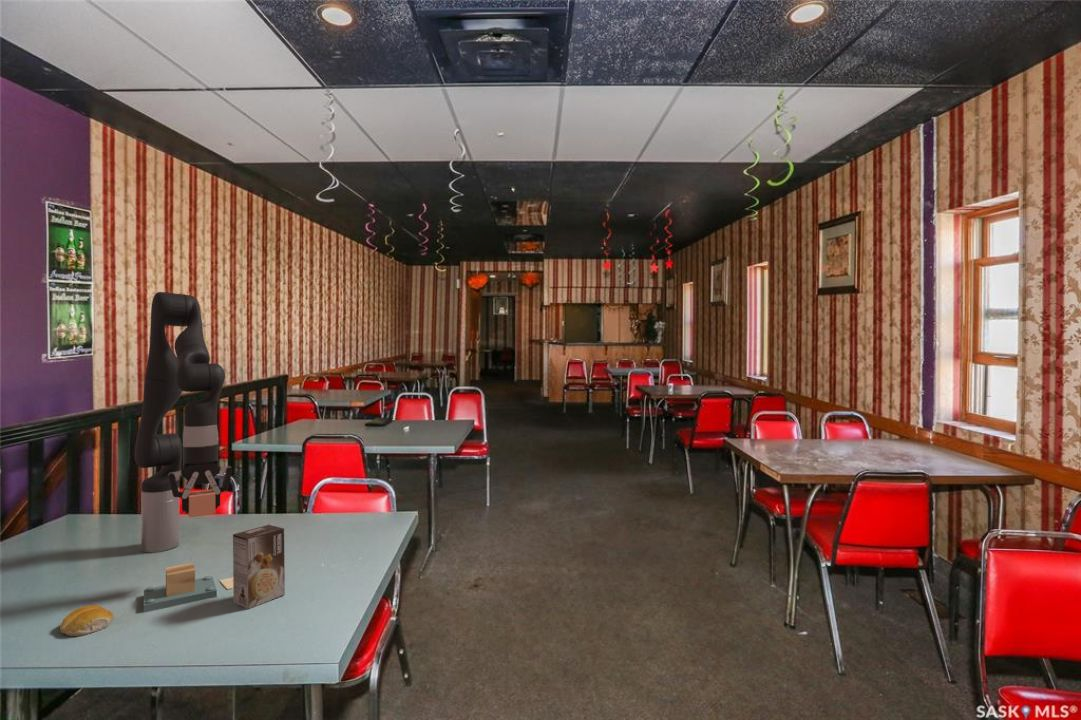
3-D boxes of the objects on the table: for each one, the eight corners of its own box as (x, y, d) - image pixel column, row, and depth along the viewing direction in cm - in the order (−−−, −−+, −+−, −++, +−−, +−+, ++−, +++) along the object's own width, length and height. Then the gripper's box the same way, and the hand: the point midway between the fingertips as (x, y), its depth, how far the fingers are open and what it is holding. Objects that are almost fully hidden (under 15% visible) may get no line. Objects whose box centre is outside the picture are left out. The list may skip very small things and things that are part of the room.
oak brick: (165, 588, 131) (165, 567, 131) (193, 583, 135) (193, 562, 135) (166, 597, 127) (166, 575, 127) (194, 591, 130) (195, 569, 130)
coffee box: (269, 589, 135) (270, 523, 135) (285, 595, 132) (285, 528, 132) (232, 603, 128) (232, 533, 127) (247, 610, 124) (248, 538, 124)
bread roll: (100, 614, 122) (100, 596, 122) (118, 625, 117) (118, 606, 117) (52, 629, 115) (52, 610, 115) (69, 642, 110) (69, 622, 110)
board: (143, 595, 131) (143, 587, 131) (212, 582, 139) (212, 574, 139) (143, 612, 123) (143, 603, 123) (216, 596, 131) (216, 588, 131)
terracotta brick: (187, 512, 139) (187, 492, 139) (212, 508, 142) (212, 489, 142) (189, 517, 135) (189, 497, 135) (215, 513, 138) (215, 493, 138)
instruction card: (219, 581, 140) (219, 579, 140) (262, 570, 147) (262, 569, 147) (227, 589, 135) (227, 588, 135) (271, 578, 141) (271, 577, 141)
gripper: (231, 439, 146) (231, 503, 146) (165, 444, 137) (165, 512, 137) (235, 442, 140) (235, 509, 140) (167, 448, 131) (167, 519, 131)
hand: (201, 510), depth 138 cm, fingers closed on terracotta brick, 5 cm apart
